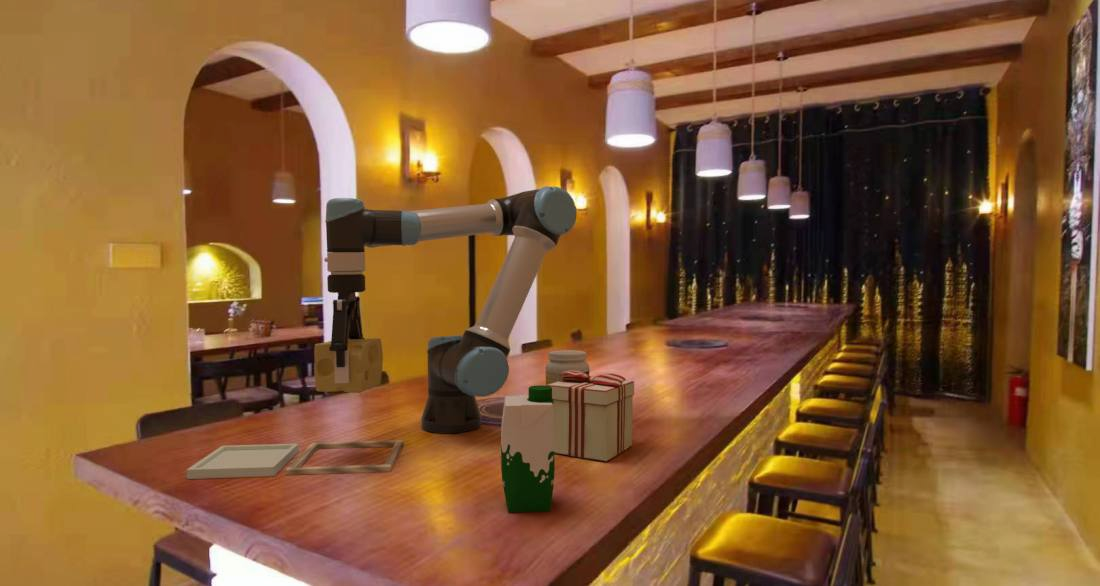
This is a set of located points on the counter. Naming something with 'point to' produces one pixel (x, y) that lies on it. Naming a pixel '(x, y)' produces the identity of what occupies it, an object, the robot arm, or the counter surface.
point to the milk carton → (528, 450)
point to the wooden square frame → (298, 470)
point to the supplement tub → (565, 364)
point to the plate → (243, 461)
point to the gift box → (592, 415)
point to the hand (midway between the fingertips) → (348, 377)
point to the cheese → (350, 366)
